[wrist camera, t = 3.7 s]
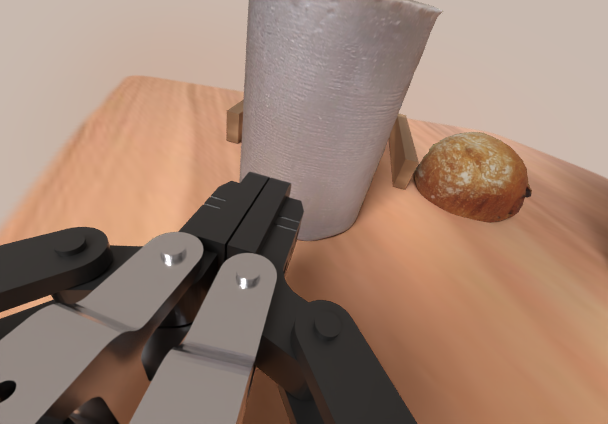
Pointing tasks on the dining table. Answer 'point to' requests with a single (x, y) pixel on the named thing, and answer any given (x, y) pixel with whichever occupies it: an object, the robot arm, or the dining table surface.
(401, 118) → the brown wooden u-shaped frame
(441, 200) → the bread roll
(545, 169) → the dining table surface
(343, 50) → the pillar candle
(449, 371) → the dining table surface
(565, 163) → the dining table surface
